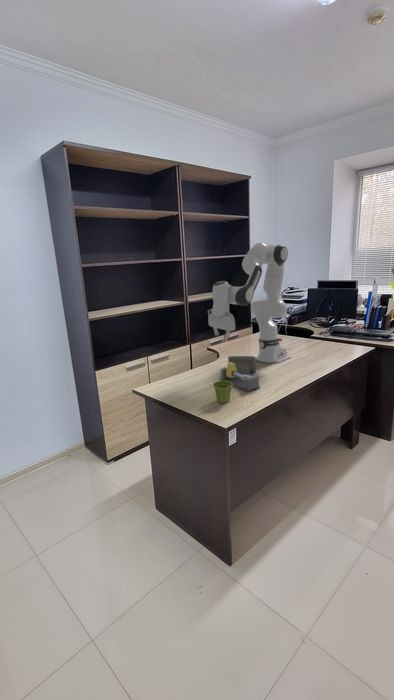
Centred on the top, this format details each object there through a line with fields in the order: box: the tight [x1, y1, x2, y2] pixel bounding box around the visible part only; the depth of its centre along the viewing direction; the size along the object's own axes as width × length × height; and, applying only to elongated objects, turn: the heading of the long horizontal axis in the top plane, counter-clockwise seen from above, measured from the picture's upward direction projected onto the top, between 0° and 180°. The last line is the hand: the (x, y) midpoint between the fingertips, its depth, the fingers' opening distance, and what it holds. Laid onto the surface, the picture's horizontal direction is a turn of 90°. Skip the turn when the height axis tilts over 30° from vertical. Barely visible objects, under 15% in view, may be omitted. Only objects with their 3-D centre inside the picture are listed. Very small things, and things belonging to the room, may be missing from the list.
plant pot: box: [212, 380, 233, 404], centre depth 166 cm, size 9×9×9 cm
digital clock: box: [227, 355, 257, 375], centre depth 203 cm, size 16×9×11 cm, turn 66°
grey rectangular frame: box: [219, 367, 261, 393], centre depth 186 cm, size 23×9×6 cm, turn 33°
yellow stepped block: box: [225, 362, 237, 378], centre depth 191 cm, size 4×4×7 cm
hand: (221, 336), depth 192 cm, fingers open, 8 cm apart
